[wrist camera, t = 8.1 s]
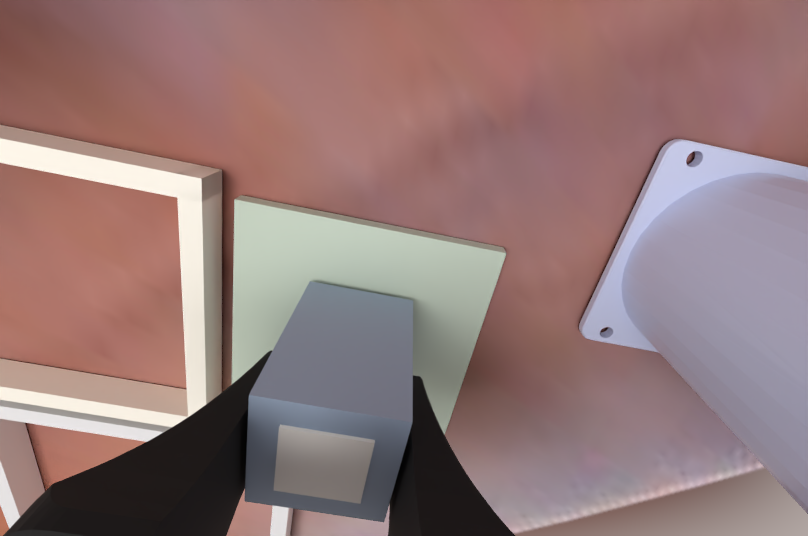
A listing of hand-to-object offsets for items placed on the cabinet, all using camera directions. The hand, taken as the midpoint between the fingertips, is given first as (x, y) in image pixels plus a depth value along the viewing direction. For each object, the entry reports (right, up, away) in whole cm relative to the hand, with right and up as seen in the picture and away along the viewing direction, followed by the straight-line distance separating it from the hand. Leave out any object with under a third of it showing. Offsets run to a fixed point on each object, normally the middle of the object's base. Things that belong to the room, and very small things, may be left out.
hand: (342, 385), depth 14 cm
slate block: (0, +2, +2) cm, 3 cm away
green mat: (0, +1, +3) cm, 3 cm away
